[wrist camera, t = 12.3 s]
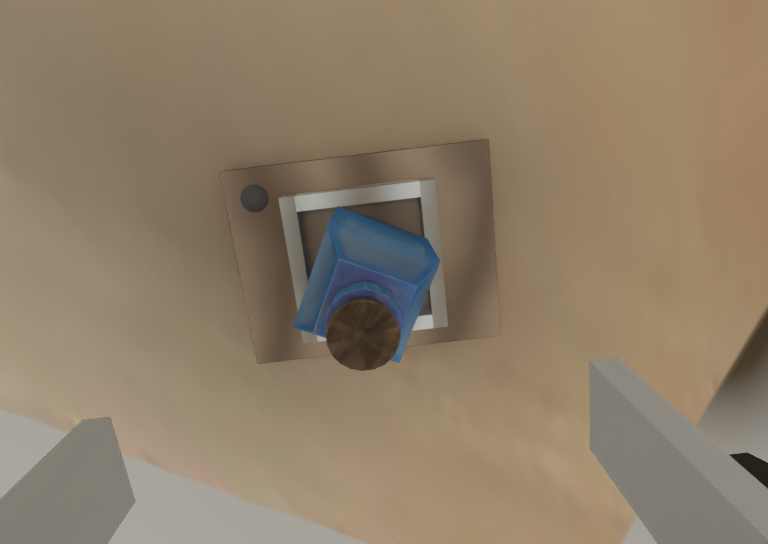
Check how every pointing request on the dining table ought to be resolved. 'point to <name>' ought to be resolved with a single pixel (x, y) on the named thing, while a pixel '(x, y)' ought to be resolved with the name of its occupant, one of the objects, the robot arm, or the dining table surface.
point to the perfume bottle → (366, 289)
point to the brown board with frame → (377, 201)
